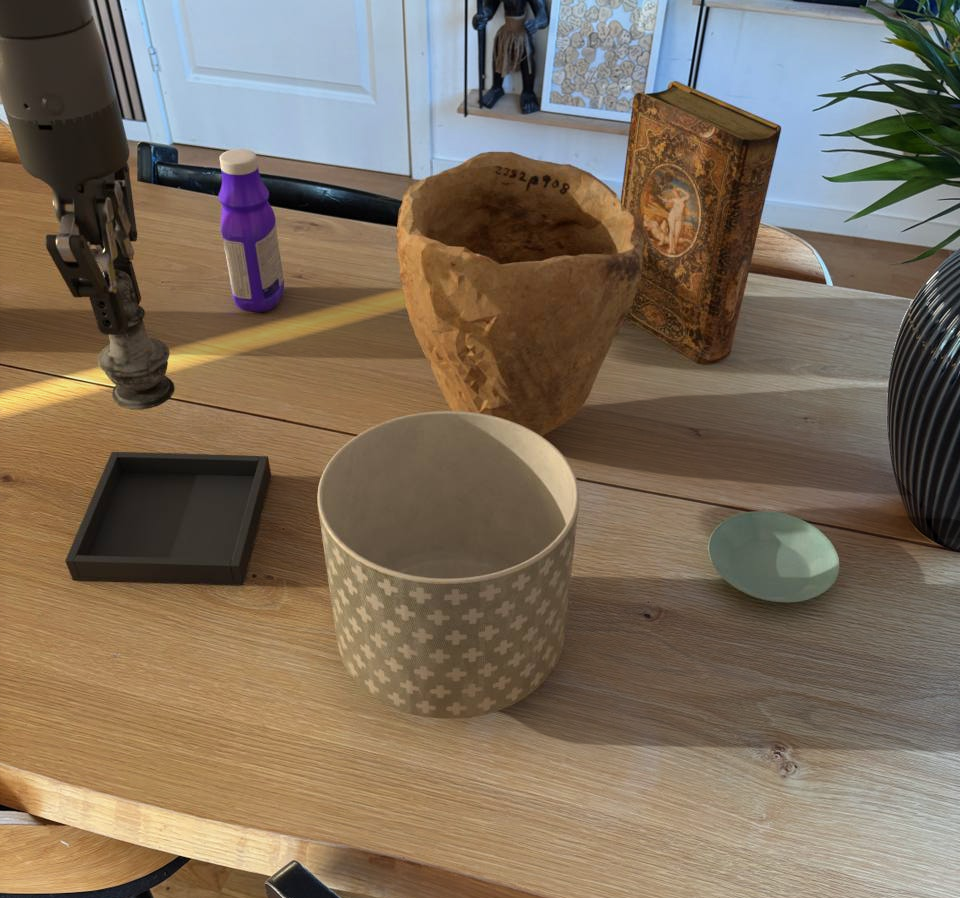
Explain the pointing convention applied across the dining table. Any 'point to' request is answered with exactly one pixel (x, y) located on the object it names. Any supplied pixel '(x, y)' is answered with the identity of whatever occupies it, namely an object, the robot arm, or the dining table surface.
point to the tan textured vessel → (517, 283)
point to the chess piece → (136, 358)
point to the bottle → (249, 233)
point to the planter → (449, 560)
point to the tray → (172, 519)
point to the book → (695, 213)
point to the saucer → (773, 556)
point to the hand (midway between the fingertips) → (121, 317)
